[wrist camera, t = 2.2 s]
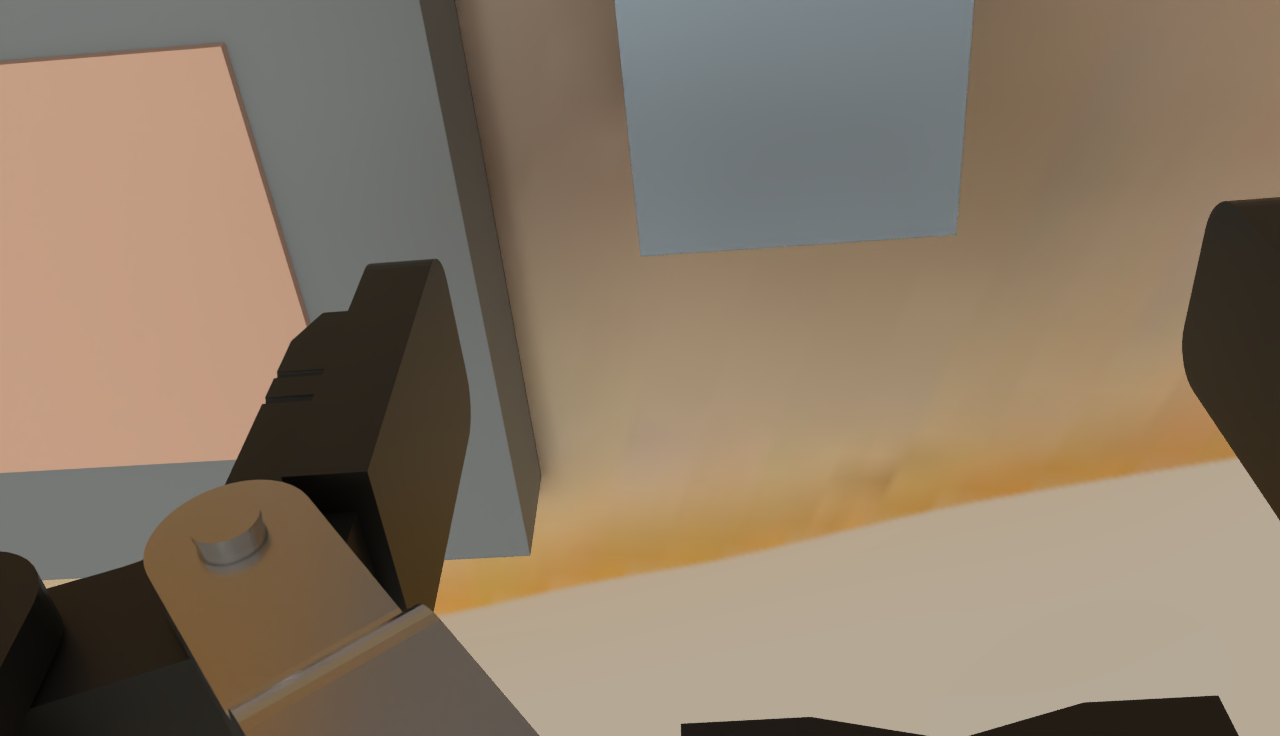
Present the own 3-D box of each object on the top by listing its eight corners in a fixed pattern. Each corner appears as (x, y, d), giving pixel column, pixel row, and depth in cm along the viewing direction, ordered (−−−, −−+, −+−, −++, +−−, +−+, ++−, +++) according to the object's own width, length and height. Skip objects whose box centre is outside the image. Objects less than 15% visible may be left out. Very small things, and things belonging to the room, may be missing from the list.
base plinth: (412, -228, 20) (376, -198, 17) (541, 476, 29) (529, 561, 26) (-450, -144, 21) (-599, -104, 18) (-63, 509, 30) (-129, 594, 28)
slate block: (906, -181, 20) (981, -97, 15) (895, 90, 23) (956, 234, 18) (623, -154, 20) (607, -64, 16) (647, 110, 23) (640, 256, 18)
